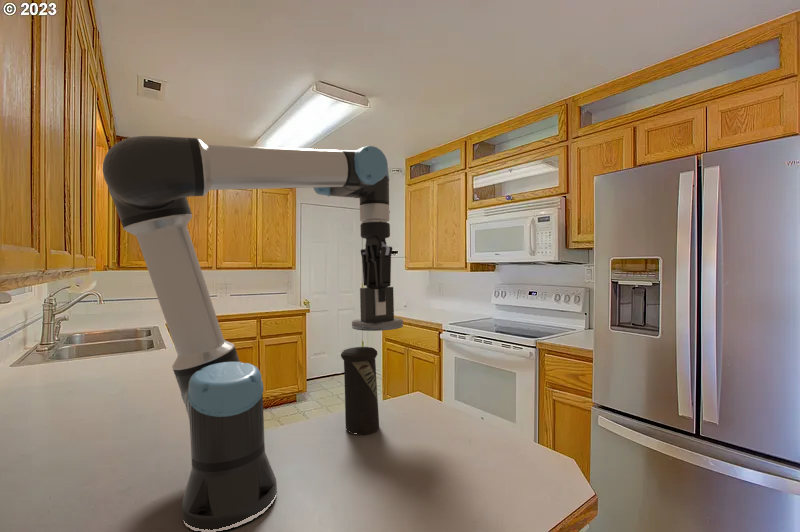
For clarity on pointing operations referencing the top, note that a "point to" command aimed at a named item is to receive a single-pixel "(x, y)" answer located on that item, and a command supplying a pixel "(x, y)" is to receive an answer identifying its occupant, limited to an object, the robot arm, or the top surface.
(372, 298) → the lid
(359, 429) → the container
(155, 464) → the top surface
